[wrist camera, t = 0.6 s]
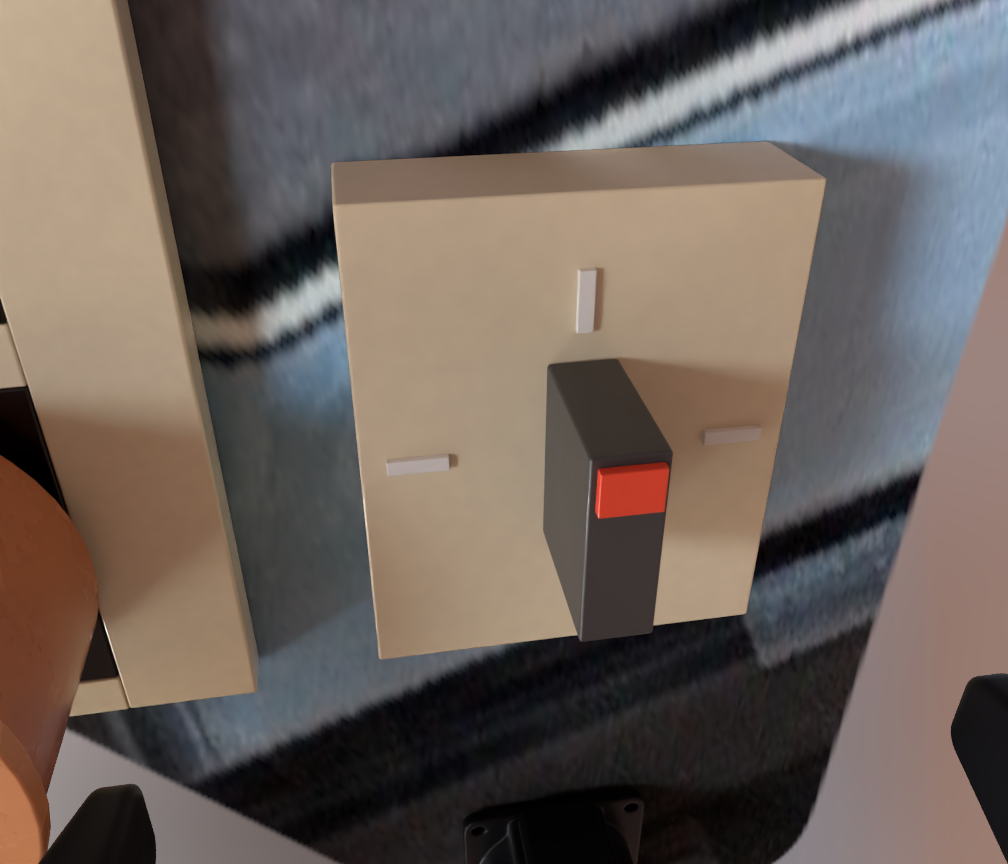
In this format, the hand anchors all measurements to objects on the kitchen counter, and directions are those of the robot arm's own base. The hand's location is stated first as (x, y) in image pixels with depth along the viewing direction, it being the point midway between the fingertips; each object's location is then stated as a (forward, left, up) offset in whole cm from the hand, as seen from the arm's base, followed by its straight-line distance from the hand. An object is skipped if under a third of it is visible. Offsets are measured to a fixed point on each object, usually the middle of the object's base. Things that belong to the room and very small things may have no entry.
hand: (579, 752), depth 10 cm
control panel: (-3, -3, -14) cm, 15 cm away
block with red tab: (-3, -3, -11) cm, 12 cm away
